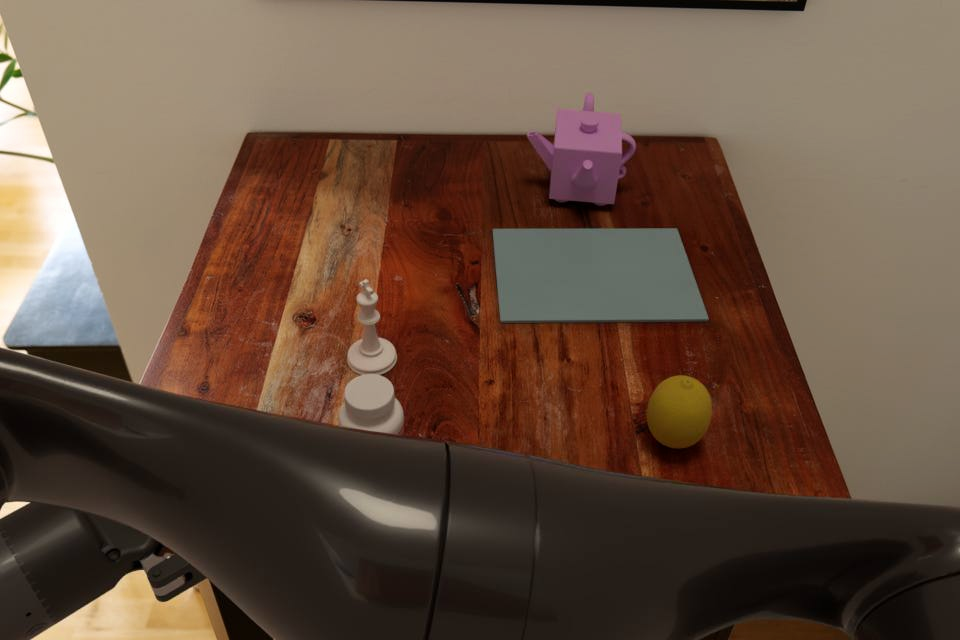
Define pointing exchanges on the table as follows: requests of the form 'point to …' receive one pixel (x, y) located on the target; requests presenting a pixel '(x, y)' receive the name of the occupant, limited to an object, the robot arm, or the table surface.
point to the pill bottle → (371, 405)
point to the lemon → (679, 411)
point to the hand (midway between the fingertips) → (246, 444)
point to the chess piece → (370, 339)
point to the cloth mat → (595, 276)
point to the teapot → (585, 154)
